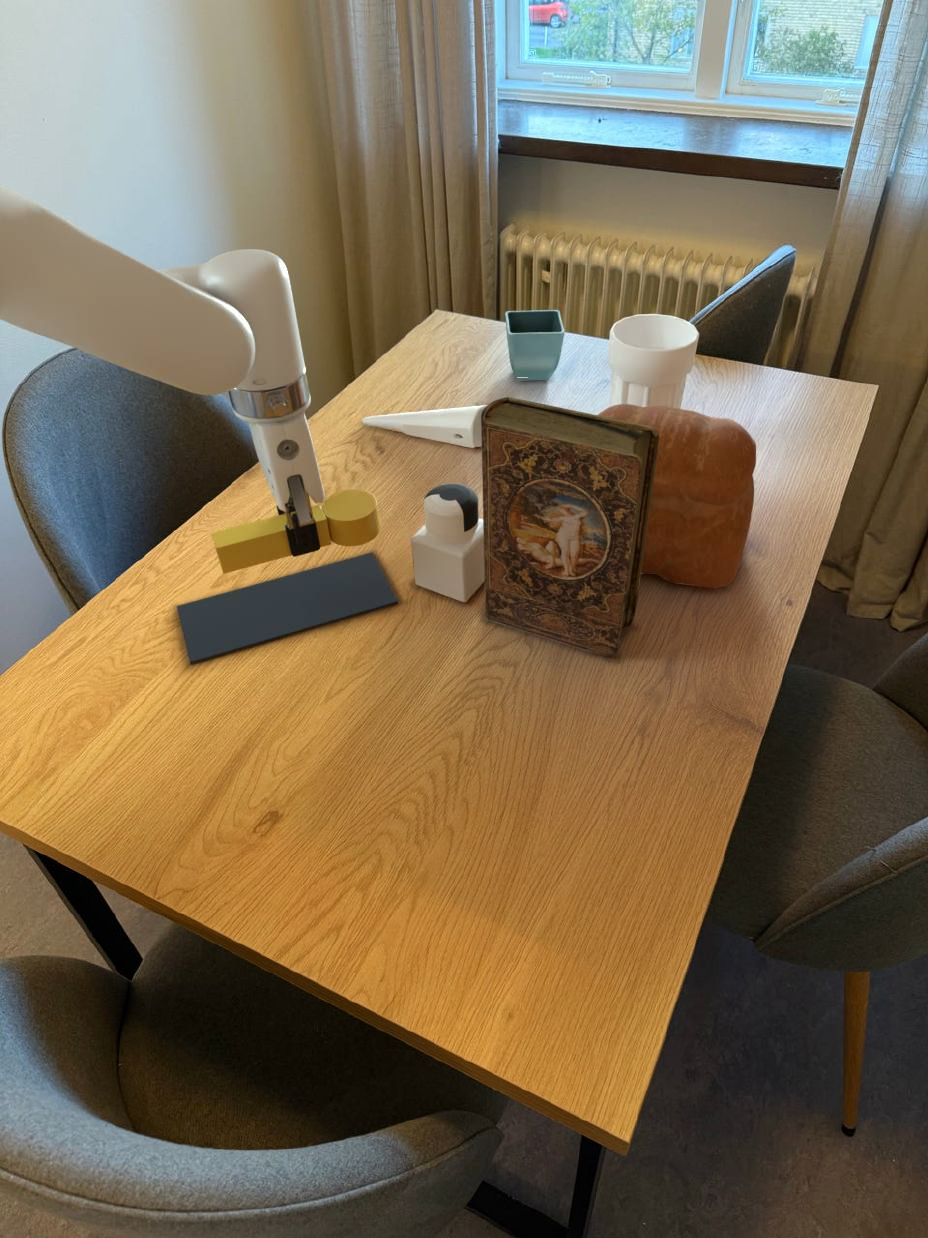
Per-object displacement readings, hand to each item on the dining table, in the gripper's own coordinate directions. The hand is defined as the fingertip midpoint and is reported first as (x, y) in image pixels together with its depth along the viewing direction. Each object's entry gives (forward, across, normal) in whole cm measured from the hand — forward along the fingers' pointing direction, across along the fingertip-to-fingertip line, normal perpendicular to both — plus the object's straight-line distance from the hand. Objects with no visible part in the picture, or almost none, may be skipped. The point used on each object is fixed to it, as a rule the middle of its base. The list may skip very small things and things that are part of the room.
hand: (301, 541), depth 92 cm
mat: (+9, 0, +3) cm, 9 cm away
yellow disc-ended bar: (0, 0, 0) cm, 0 cm away
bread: (+9, -8, -41) cm, 43 cm away
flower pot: (+9, +39, -48) cm, 62 cm away
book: (+9, -16, -24) cm, 30 cm away
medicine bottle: (+9, -4, -17) cm, 19 cm away
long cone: (+9, +30, -25) cm, 40 cm away
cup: (+9, +12, -51) cm, 53 cm away
